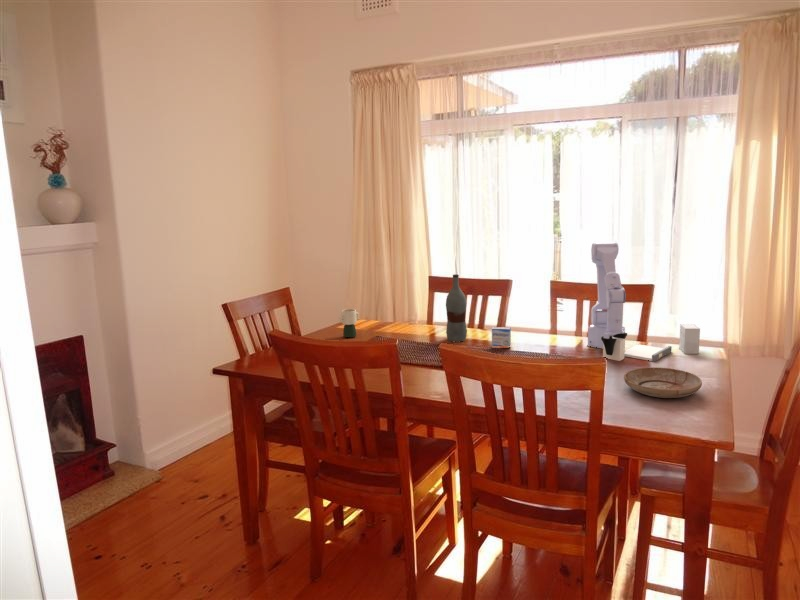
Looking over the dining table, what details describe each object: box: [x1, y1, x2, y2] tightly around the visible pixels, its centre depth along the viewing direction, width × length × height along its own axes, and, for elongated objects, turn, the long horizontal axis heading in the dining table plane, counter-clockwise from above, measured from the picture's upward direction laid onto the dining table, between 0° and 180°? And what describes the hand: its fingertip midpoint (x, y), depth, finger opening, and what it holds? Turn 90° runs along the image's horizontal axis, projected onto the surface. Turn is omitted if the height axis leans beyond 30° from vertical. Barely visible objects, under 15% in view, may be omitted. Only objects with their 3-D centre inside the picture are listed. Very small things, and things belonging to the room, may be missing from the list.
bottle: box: [445, 273, 468, 343], centre depth 270 cm, size 9×9×30 cm
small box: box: [678, 323, 701, 355], centre depth 242 cm, size 8×6×10 cm
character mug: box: [338, 308, 360, 338], centre depth 284 cm, size 11×7×13 cm, turn 127°
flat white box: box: [624, 344, 672, 362], centre depth 241 cm, size 14×17×2 cm
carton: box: [602, 336, 626, 362], centre depth 237 cm, size 4×7×8 cm, turn 45°
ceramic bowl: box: [623, 367, 703, 399], centre depth 198 cm, size 23×24×5 cm
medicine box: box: [491, 326, 512, 346], centre depth 257 cm, size 8×4×9 cm, turn 76°
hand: (613, 352), depth 237 cm, fingers open, 7 cm apart
